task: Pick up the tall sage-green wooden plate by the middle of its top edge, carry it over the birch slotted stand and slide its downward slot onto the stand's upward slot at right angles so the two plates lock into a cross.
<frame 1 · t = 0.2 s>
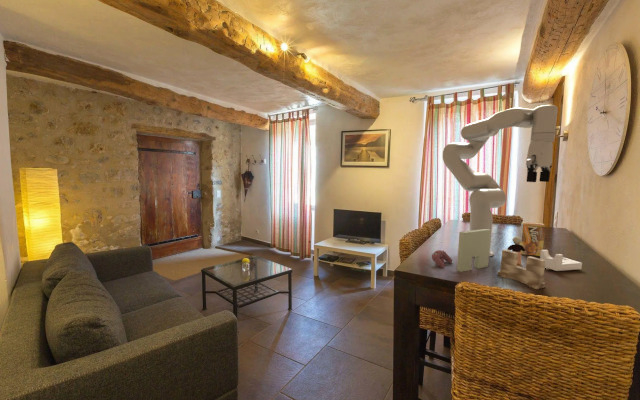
hand: (537, 181, 115), 36 cm above the table, tool pointing down, fingers open, 9 cm apart
birch stand: (519, 280, 107), on the table
candy box: (529, 254, 140), on the table
bracket: (559, 269, 121), on the table
video game controller: (441, 264, 125), on the table
grandmother figurine: (514, 265, 125), on the table
sage plate: (472, 268, 120), on the table
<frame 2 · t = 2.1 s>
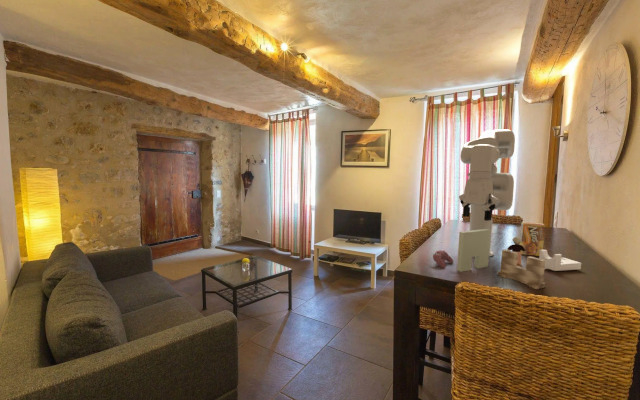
hand: (476, 218, 117), 21 cm above the table, tool pointing down, fingers open, 9 cm apart
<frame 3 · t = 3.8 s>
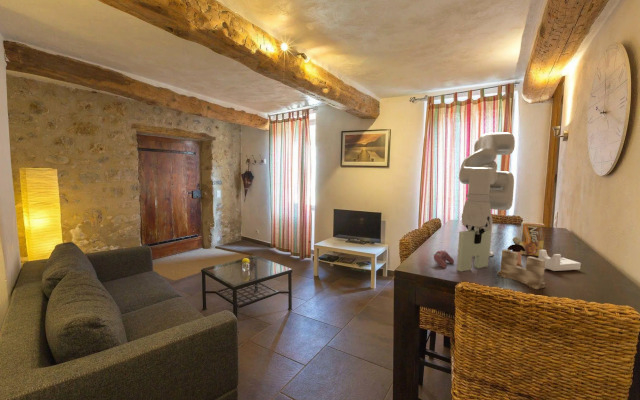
hand: (474, 242, 118), 11 cm above the table, tool pointing down, fingers closed on sage plate, 1 cm apart
sage plate: (472, 268, 120), on the table, touching gripper
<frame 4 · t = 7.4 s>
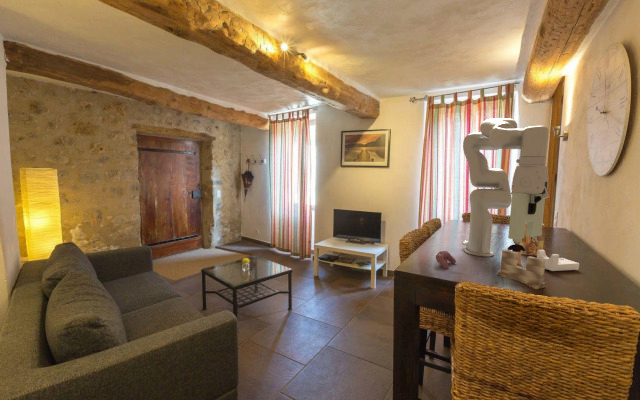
hand: (527, 213, 104), 26 cm above the table, tool pointing down, fingers closed on sage plate
sage plate: (525, 236, 105), point 17 cm above the table, touching gripper
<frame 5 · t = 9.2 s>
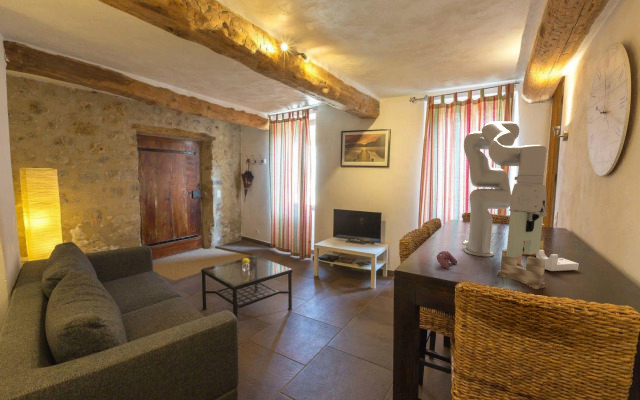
hand: (525, 230, 105), 19 cm above the table, tool pointing down, fingers closed on sage plate
sage plate: (523, 254, 106), point 10 cm above the table, touching gripper
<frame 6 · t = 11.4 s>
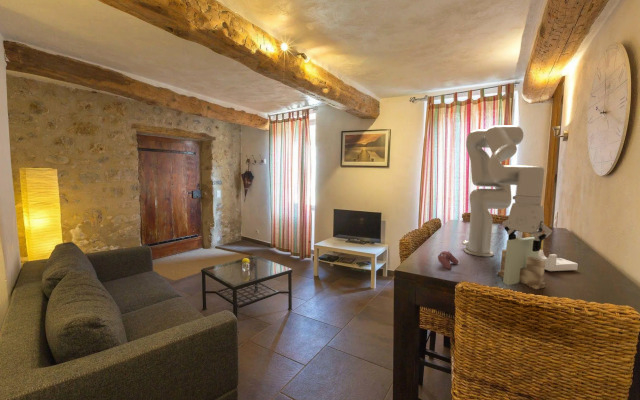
hand: (523, 247, 106), 13 cm above the table, tool pointing down, fingers open, 8 cm apart
sage plate: (519, 280, 107), on the table
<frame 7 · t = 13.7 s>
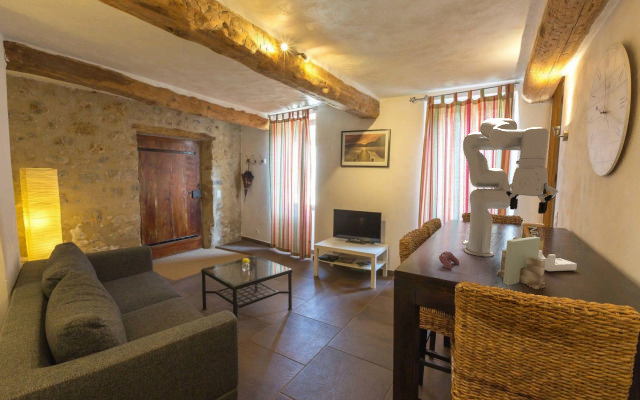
hand: (527, 211, 104), 26 cm above the table, tool pointing down, fingers open, 9 cm apart
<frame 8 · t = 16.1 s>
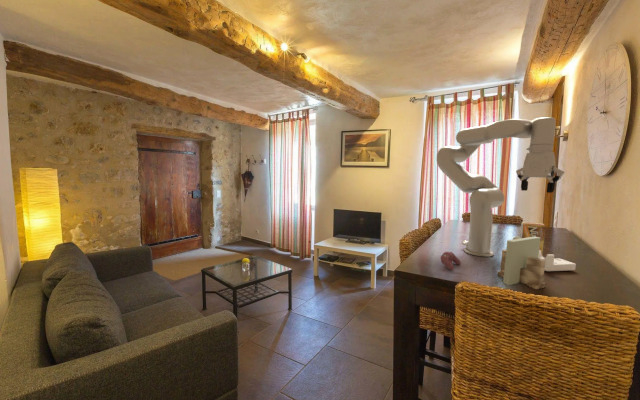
hand: (536, 191, 118), 32 cm above the table, tool pointing down, fingers open, 9 cm apart
at the end: sage plate 0.0 cm off-centre on the birch stand, point 0.0 cm above the birch stand's base; sage plate tilted 0°; the gripper is holding nothing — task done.
